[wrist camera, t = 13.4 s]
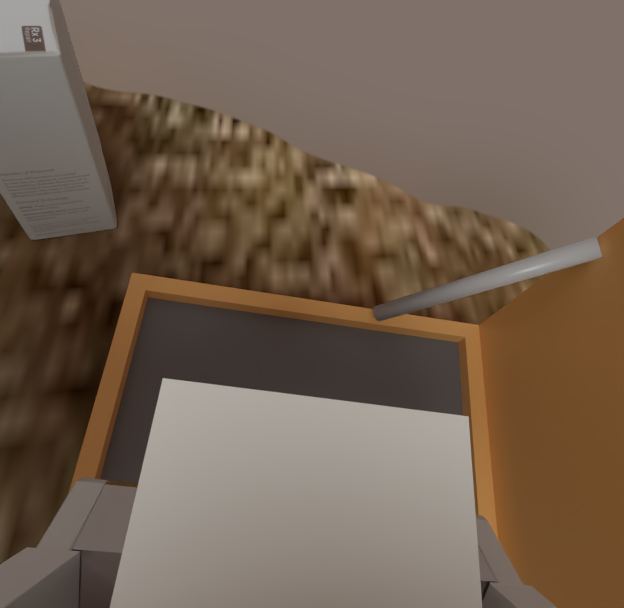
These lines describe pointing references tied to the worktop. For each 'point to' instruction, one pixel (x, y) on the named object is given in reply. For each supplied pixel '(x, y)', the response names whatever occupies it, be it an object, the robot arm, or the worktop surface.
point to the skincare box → (48, 128)
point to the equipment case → (422, 391)
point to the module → (299, 505)
